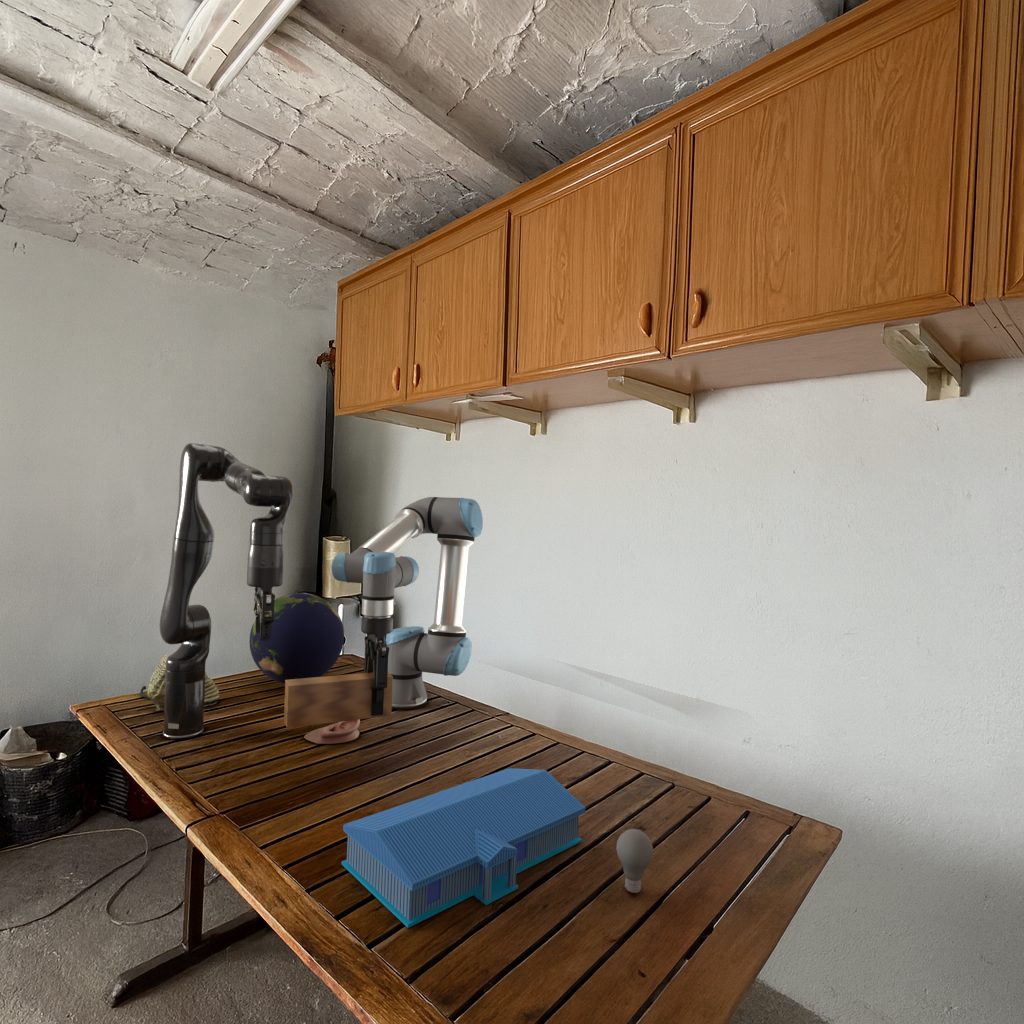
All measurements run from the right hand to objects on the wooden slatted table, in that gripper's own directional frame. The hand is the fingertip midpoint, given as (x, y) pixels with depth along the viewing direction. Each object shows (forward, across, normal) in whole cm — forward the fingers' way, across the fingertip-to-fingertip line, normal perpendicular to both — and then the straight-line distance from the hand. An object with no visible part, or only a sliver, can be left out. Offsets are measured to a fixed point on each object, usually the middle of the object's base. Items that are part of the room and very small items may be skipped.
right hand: (374, 710), depth 154 cm
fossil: (+12, +56, +41) cm, 70 cm away
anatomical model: (+12, +17, +6) cm, 22 cm away
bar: (+1, 0, +8) cm, 8 cm away
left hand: (-20, 0, +26) cm, 33 cm away
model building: (+12, -48, -6) cm, 50 cm away
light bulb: (+12, -68, -26) cm, 74 cm away
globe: (+12, +69, +8) cm, 70 cm away
